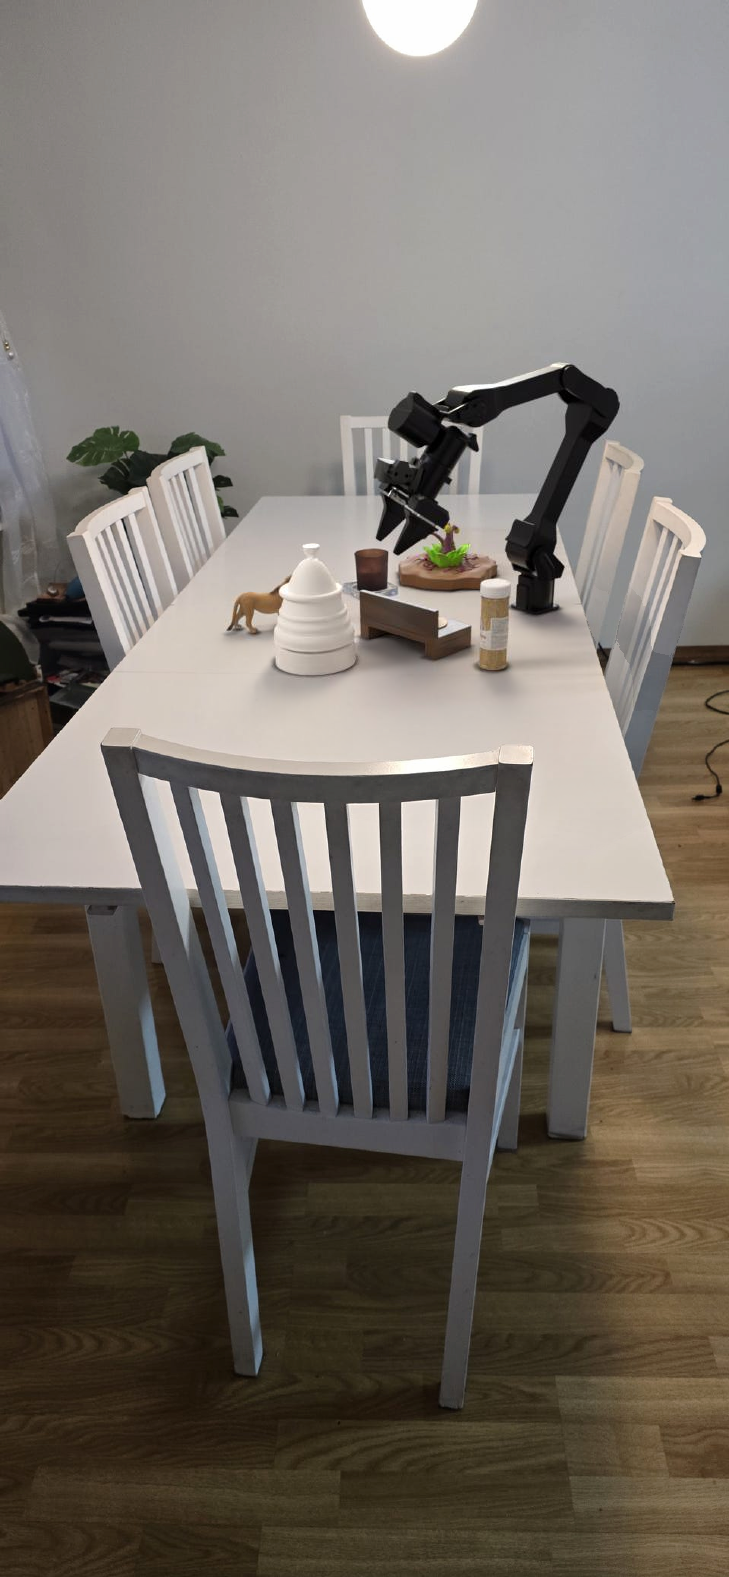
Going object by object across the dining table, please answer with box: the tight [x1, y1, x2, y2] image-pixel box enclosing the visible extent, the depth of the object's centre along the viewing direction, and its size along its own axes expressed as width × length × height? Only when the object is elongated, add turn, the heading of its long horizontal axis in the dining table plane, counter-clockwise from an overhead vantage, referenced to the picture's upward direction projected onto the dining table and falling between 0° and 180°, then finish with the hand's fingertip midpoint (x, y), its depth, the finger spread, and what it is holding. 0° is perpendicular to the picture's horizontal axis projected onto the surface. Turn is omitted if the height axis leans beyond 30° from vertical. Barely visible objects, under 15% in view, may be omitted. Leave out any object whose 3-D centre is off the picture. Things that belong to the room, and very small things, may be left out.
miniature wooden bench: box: [358, 589, 472, 661], centre depth 164 cm, size 9×17×8 cm, turn 44°
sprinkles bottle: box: [477, 578, 512, 671], centre depth 152 cm, size 5×5×14 cm
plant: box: [398, 521, 498, 591], centre depth 197 cm, size 20×20×11 cm
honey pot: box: [273, 543, 357, 676], centre depth 155 cm, size 13×13×18 cm
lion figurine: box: [226, 573, 293, 634], centre depth 172 cm, size 15×5×9 cm, turn 110°
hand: (386, 547), depth 164 cm, fingers open, 9 cm apart
